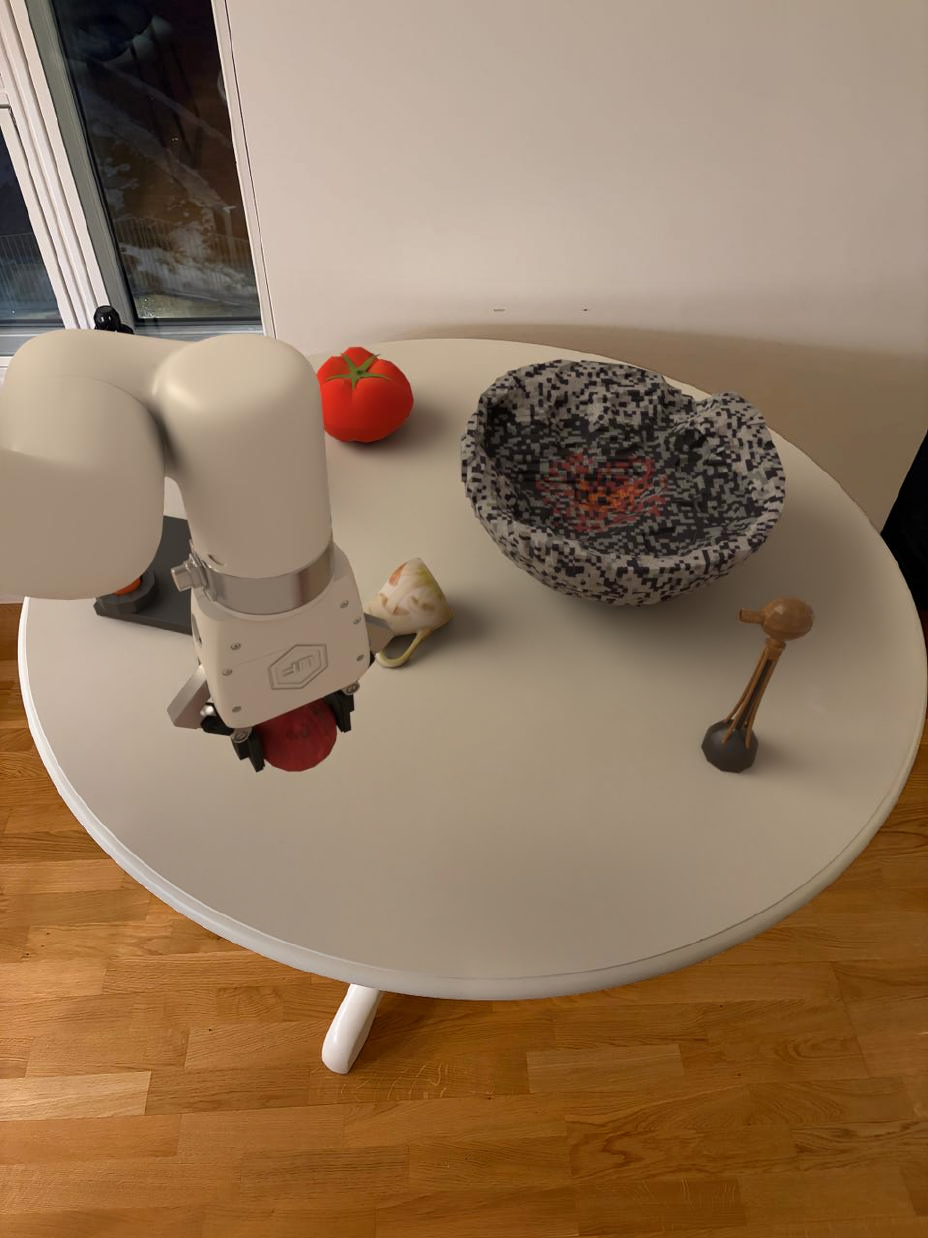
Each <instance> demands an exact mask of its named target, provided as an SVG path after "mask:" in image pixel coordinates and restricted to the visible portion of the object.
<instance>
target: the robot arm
mask: <svg viewBox="0 0 928 1238" xmlns="http://www.w3.org/2000/svg"><path fill="white" fill-rule="evenodd" d="M7 365H8V366H7V367H6V370H5V373H4V376H3V380H2V384H1V389H0V593H2V594H8V595H13V596H18V597H26V598H32V599H41V600H51V601H52V600H53V601H54V600H55V601H77V600H90V599H91V600H92V599H96V597H100V596H104V595H108V594H112V593H114V592H116V591H118V590H120V589H122V588H124V587H126V586H128V585H130V584H131V583H132V582H134V581H135V580H136V579H137V578H139V577H140V576H141V575H142V574H143V573H144V572H145V570H146V569H147V568H148V566H149V565H150V564H151V562H152V561H153V559H154V557H155V554H156V552H157V549H158V546H159V544H160V540H161V536H162V526H163V515H164V513H165V511H164V510H165V478H169V479H171V480H172V481H173V482H175V483H176V485H177V487H178V488H179V492H180V495H181V499H182V503H183V508H184V511H185V512H184V513H185V517H186V520H188V524H189V528H190V532H191V536H192V539H191V540H189V542H190V546H191V550H192V553H191V554H189V560H187V561H184V562H183V565H180V566H177V567H174V568H172V569H171V573H172V576H173V579H174V581H175V584H176V586H177V588H178V590H179V591H183V590H186V589H189V588H192V590H191V621H192V633H193V635H192V639H193V647H194V652H195V653H194V654H195V658H196V663H197V668H196V669H195V671H194V672H193V674H192V675H191V677H189V679H188V680H187V681H186V682H185V684H184V685H183V686H182V688H181V689H180V691H179V692H178V693H177V695H176V696H175V697H174V698H173V700H172V701H171V702H170V703H169V704H168V706H167V708H166V712H167V714H168V716H169V718H170V720H171V722H172V724H173V726H174V727H176V728H182V729H190V730H197V729H202V732H204V733H206V734H212V735H218V736H225V737H230V741H231V744H232V748H233V749H234V752H235V754H236V756H237V758H238V760H239V761H244V760H246V759H248V760H249V761H250V763H251V765H252V767H253V769H254V771H255V773H259V772H261V771H264V768H266V760H264V757H263V752H262V747H261V742H260V738H259V736H258V734H257V732H256V730H255V728H254V725H256V724H259V723H262V722H264V721H267V720H269V719H272V718H274V717H276V716H279V715H281V714H284V713H286V712H288V711H291V710H293V709H296V708H298V707H300V706H303V705H305V704H307V703H310V702H312V701H314V700H317V699H319V698H321V697H323V698H324V699H325V700H326V702H327V703H328V705H329V706H330V708H331V709H332V711H333V712H334V713H335V717H336V723H337V729H338V731H339V732H340V733H344V734H346V733H349V732H350V731H352V720H351V719H352V718H351V713H353V712H354V711H355V708H356V707H355V696H354V694H355V693H357V692H358V691H359V690H360V688H361V684H360V682H359V680H360V679H361V678H362V677H363V676H364V675H365V674H366V673H367V671H368V670H369V669H370V668H371V666H372V665H373V664H374V663H375V661H376V653H379V652H380V651H381V650H382V649H383V648H384V647H385V646H386V644H387V643H388V642H389V641H390V642H391V640H392V639H393V638H394V637H393V636H394V632H393V631H392V629H391V628H390V626H389V625H388V624H387V622H386V621H385V620H383V619H381V618H378V617H375V616H373V615H370V614H367V613H365V612H363V608H362V606H363V603H362V599H361V596H360V591H359V587H358V584H357V581H356V577H355V574H354V571H353V568H352V566H351V562H350V560H349V558H348V556H347V554H346V553H345V552H344V550H342V549H341V548H340V547H339V546H338V544H337V543H336V542H335V541H334V533H333V532H334V531H333V522H332V521H333V520H332V519H333V518H332V512H331V511H332V510H331V509H332V508H331V499H330V497H331V496H330V487H329V476H328V474H329V473H328V463H327V451H326V450H327V449H326V439H325V430H324V424H323V412H322V399H321V392H320V385H319V381H318V378H317V375H316V374H317V372H316V371H315V369H314V367H313V365H312V364H311V362H310V361H309V359H308V358H307V357H305V355H304V354H303V353H302V352H301V351H300V350H298V349H297V348H296V347H294V346H293V345H291V344H289V343H287V342H285V341H283V340H281V339H278V338H275V337H271V336H269V335H264V334H257V333H247V332H246V333H245V332H236V333H226V334H219V335H214V336H211V337H208V338H204V339H201V340H199V341H188V340H177V339H169V338H161V337H152V336H147V335H146V336H145V335H138V334H131V333H126V332H117V331H110V330H105V329H104V330H103V329H96V328H95V329H93V328H63V329H55V330H51V331H47V332H43V333H40V334H37V335H36V336H34V337H32V338H30V339H28V340H26V342H24V343H23V344H22V345H20V347H19V348H18V349H17V351H16V352H15V353H14V354H13V356H12V357H11V359H10V361H9V363H8V364H7ZM386 647H387V646H386ZM386 647H385V648H386ZM210 699H211V700H212V702H211V701H210Z"/></svg>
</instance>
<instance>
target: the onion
mask: <svg viewBox="0 0 928 1238" xmlns="http://www.w3.org/2000/svg"><path fill="white" fill-rule="evenodd" d="M253 726H254V728H255V730H256V732H257V734H258V736H259V738H260V742H261V747H262V752H263V757H264V761H265V762H267V763H268V764H269V765H271V766H272V767H273V768H276V769H279V770H282V771H286V772H287V773H296V772H297V773H300V772H304V771H307V770H310V769H313V768H315V767H316V766H318V765H319V764H321V763H322V762H323V761H325V759H327V758H328V757H329V756H330V755H331V752H332V751H333V749H334V746H335V744H336V742H337V738H338V727H337V723H336V717H335V713H334V712H333V711H332V709H331V708H330V706H329V705H328V703H327V702H326V700H325V699H324V698H323V697H321V698H319V699H317V700H314V701H312V702H310V703H307V704H305V705H303V706H300V707H298V708H296V709H293V710H291V711H288V712H286V713H284V714H281V715H279V716H276V717H274V718H272V719H269V720H267V721H264V722H262V723H259V724H256V725H253Z"/></svg>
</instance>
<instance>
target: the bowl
mask: <svg viewBox="0 0 928 1238" xmlns="http://www.w3.org/2000/svg"><path fill="white" fill-rule="evenodd" d="M477 402H478V403H477V408H476V411H475V412H473V413H472V414H471V415H470V417H469V419H468V421H467V423H466V426H465V433H461V434H460V480H461V481H460V482H461V483H464V490H465V492H464V493H465V498H469V500H470V507H471V508H472V509H473V513H474V517H475V518H476V519H478V520H479V524H480V525H481V526H482V527H483V528H484V529H485V531H486V533H487V534H488V536H489V537H490V538H491V540H492V542H494V543H495V544H496V545H497V546H498V548H499V550H500V551H501V553H502V554H503V555H504V556H505V557H507V559H509V560H510V561H511V562H512V563H513V564H514V565H515V566H516V567H517V568H518V569H521V570H523V571H525V572H526V573H527V574H528V575H529V576H531V578H533V579H535V580H536V581H538V582H540V583H541V584H542V585H544V586H547V587H549V588H550V589H552V590H554V592H558V593H561V595H565V596H570V597H571V596H572V597H576V598H580V599H585V600H588V601H594V602H598V603H602V604H603V603H604V604H609V605H610V607H615V606H629V607H630V606H631V607H641V605H656V604H657V603H659V602H666V601H668V600H671V599H676V598H678V597H681V596H682V595H686V594H691V593H696V592H697V591H698V590H702V589H704V588H705V587H708V586H710V585H711V584H712V583H714V582H717V581H718V580H719V579H722V578H723V577H725V576H728V575H729V574H730V573H731V572H733V571H735V570H736V569H739V567H740V566H741V565H743V563H744V562H745V561H746V560H747V559H748V558H749V557H750V556H752V555H753V554H755V553H756V552H757V551H759V549H760V548H761V547H762V546H763V545H764V544H765V543H766V542H767V539H768V537H769V535H770V534H771V532H772V530H773V528H774V526H775V524H776V523H778V522H779V521H780V520H781V518H782V517H781V516H782V512H783V509H784V507H785V505H784V499H786V498H787V496H786V489H785V485H786V478H787V477H786V476H787V475H786V474H785V470H784V466H783V464H782V461H781V458H780V456H779V453H778V449H777V446H776V445H775V443H774V442H773V438H772V434H771V431H770V430H769V429H768V427H767V426H766V420H765V418H764V416H763V414H762V412H761V410H760V409H758V408H757V407H755V406H753V404H752V403H751V402H749V400H748V399H745V398H743V397H741V396H740V394H739V393H738V392H737V391H733V390H731V391H726V392H723V393H714V392H712V395H711V396H709V397H706V398H704V399H702V400H696V399H695V398H694V397H693V395H689V394H685V393H683V392H682V389H681V388H677V387H674V386H673V385H672V384H670V383H669V382H667V381H666V379H665V377H664V375H663V374H662V373H660V372H655V371H652V370H648V369H644V368H640V367H636V366H633V365H629V364H622V363H613V362H605V361H596V360H595V361H594V360H585V359H581V360H580V361H575V360H569V359H563V358H562V359H561V358H560V359H554V360H549V361H545V362H543V363H532V364H529V365H524V366H519V368H517V369H511V370H508V371H506V373H504V374H503V375H502V376H499V377H496V379H495V380H494V382H493V383H492V384H490V386H489V387H487V389H486V390H485V391H483V392H482V393H481V394H480V396H479V399H478V401H477Z"/></svg>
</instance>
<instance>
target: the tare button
mask: <svg viewBox="0 0 928 1238" xmlns="http://www.w3.org/2000/svg"><path fill="white" fill-rule="evenodd" d="M139 585H140V578H137V579H136V580H135V581H134V582H132V583H131V584H130V585H128V586H126V587H124V588H122V589H120V590H118V591H116V592H114V594H117V595H125V594H130V593H132V592H133V591H135V590H136V589H137V588H138V587H139Z"/></svg>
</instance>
